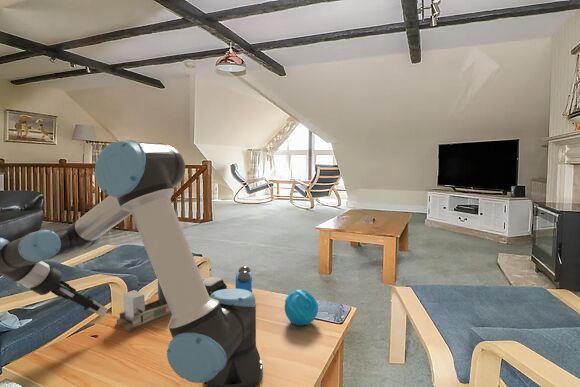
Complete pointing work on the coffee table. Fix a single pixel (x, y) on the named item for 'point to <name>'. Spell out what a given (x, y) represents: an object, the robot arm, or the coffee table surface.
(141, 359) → the coffee table surface
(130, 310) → the carriage
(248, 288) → the alarm clock
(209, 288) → the miniature car
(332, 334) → the coffee table surface
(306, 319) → the blue round piece
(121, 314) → the frame
